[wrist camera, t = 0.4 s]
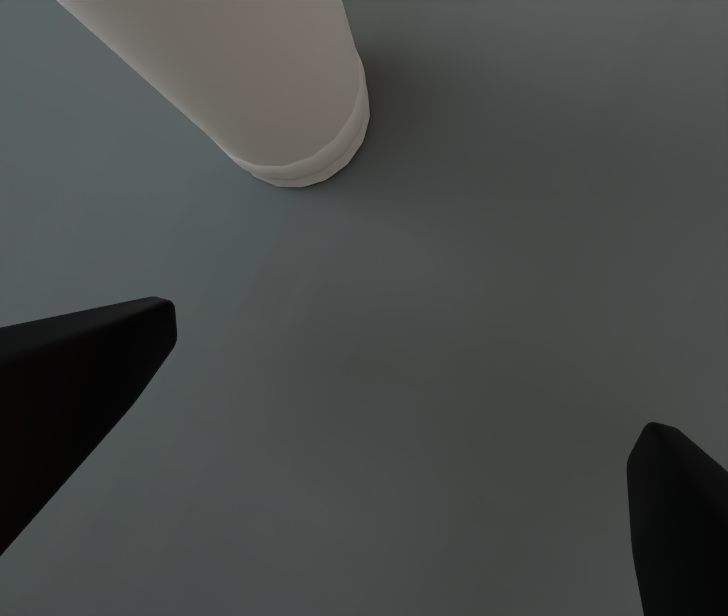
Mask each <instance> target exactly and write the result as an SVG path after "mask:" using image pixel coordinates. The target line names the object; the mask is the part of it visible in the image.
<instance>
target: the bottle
mask: <svg viewBox="0 0 728 616" xmlns="http://www.w3.org/2000/svg"><path fill="white" fill-rule="evenodd" d="M57 1H58V2H59V3H60V4H61V5H62V6H63V7H64V8H66V9H67V10H68V11H69V12H70V13H71V14H72V15H73V16H75V17H76V18H77V19H78V20H79V21H80V22H81V23H82V24H84V25H85V26H86V27H87V28H88V29H89V30H90V31H91V32H93V33H94V34H95V35H96V36H97V37H98V38H99V39H100V40H102V41H103V42H104V43H105V44H106V45H107V46H108V47H109V48H111V49H112V50H113V51H114V52H115V53H116V54H117V55H118V56H120V57H121V58H122V59H123V60H124V61H125V62H126V63H127V64H129V65H130V66H131V67H132V68H133V69H134V70H135V71H136V72H138V73H139V74H140V75H141V76H142V77H143V78H144V79H145V80H147V81H148V82H149V83H150V84H151V85H152V86H153V87H154V88H155V89H157V90H158V91H159V92H160V93H161V94H162V95H163V96H164V97H166V98H167V99H168V100H169V101H170V102H171V103H172V104H173V105H175V106H176V107H177V108H178V109H179V110H180V111H181V112H182V113H184V114H185V115H186V116H187V117H188V118H189V119H190V120H191V121H193V122H194V123H195V124H196V125H197V126H198V127H199V128H200V129H202V130H203V131H204V132H205V133H206V134H207V135H208V136H209V137H211V139H212V140H213V141H214V142H215V143H216V144H217V145H218V146H219V147H220V148H221V149H222V150H223V151H224V152H225V153H226V154H227V155H228V156H229V157H230V158H231V159H232V160H233V161H234V162H235V163H236V164H238V165H239V166H240V167H241V168H243V169H244V170H247V171H249V172H250V173H251V174H252V175H253V176H254V177H256V178H259V179H261V180H263V181H266V182H268V183H270V184H272V185H275V186H277V187H301V188H302V187H305V186H308V185H312V184H315V183H318V182H321V181H324V180H327V179H328V178H330V177H331V176H332V175H334V174H335V173H336V172H338V171H339V170H340V169H342V168H343V167H344V166H346V165H347V164H348V163H349V162H350V160H351V159H352V157H353V156H354V154H355V153H356V151H357V150H358V148H359V147H360V146H361V144H362V143H363V140H364V137H365V133H366V129H367V125H368V122H369V118H370V112H369V100H368V90H367V87H366V79H365V72H364V68H363V64H362V62H361V59H360V57H359V55H358V53H357V51H356V49H355V45H354V42H353V38H352V35H351V31H350V28H349V24H348V21H347V17H346V14H345V10H344V7H343V3H342V0H57Z"/></svg>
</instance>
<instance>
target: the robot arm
mask: <svg viewBox="0 0 728 616" xmlns="http://www.w3.org/2000/svg"><path fill="white" fill-rule="evenodd" d="M176 341H177V327H176V314H175V306H174V304H173V303H172V302H171V301H170V300H166V299H162V298H158V297H147V298H142V299H137V300H132V301H127V302H123V303H118V304H113V305H108V306H103V307H98V308H94V309H89V310H84V311H79V312H74V313H69V314H65V315H60V316H55V317H50V318H45V319H40V320H35V321H31V322H26V323H21V324H16V325H11V326H6V327H2V328H0V556H1V555H2V554H3V553H4V551H5V550H6V549H7V548H8V547H9V546H10V545H11V543H12V542H13V541H14V540H15V539H16V538H17V537H18V535H19V534H20V533H21V532H22V531H23V530H24V529H25V527H26V526H27V525H28V524H29V523H30V522H31V521H32V519H33V518H34V517H35V516H36V515H37V514H38V513H39V512H40V510H41V509H42V508H43V507H44V506H45V505H46V504H47V502H48V501H49V500H50V499H51V498H52V497H53V496H54V494H55V493H56V492H57V491H58V490H59V489H60V488H61V486H62V485H63V484H64V483H65V482H66V481H67V480H68V478H69V477H70V476H71V475H72V474H73V473H74V472H75V470H76V469H77V468H78V467H79V466H80V465H81V464H82V463H83V461H84V460H85V459H86V458H87V457H88V456H89V455H90V453H91V452H92V451H93V450H94V449H95V448H96V447H97V445H98V444H99V443H100V442H101V441H102V440H103V439H104V437H105V436H106V435H107V434H108V433H109V432H110V431H111V429H112V428H113V427H114V426H115V425H116V424H117V423H118V421H119V420H120V419H121V418H122V417H123V416H124V415H125V414H126V412H127V411H128V410H129V409H130V408H131V406H132V405H133V404H134V403H135V401H136V400H137V399H138V397H139V396H140V395H141V393H142V392H143V390H144V389H145V388H146V386H147V385H148V383H149V382H150V381H151V379H152V378H153V376H154V375H155V373H156V372H157V371H158V369H159V368H160V366H161V365H162V364H163V362H164V361H165V359H166V358H167V357H168V355H169V354H170V352H171V351H172V349H173V348H174V346H175V344H176ZM627 485H628V500H629V514H630V529H631V542H632V552H633V559H634V565H635V570H636V576H637V581H638V586H639V591H640V597H641V602H642V607H643V612H644V616H728V472H727V471H726V470H725V469H724V468H723V467H722V466H720V465H719V464H718V463H717V462H716V461H715V460H713V459H712V458H711V457H710V456H709V455H708V454H706V453H705V452H704V451H703V450H702V449H701V448H699V447H698V446H697V445H696V444H695V443H694V442H692V441H691V440H690V439H689V438H688V437H687V436H685V435H684V434H683V433H682V432H681V431H680V430H678V429H677V428H675V427H672V426H668V425H664V424H660V423H656V422H650V423H648V424H647V425H646V426H645V427H644V428H643V430H642V432H641V434H640V436H639V438H638V440H637V442H636V444H635V446H634V448H633V449H632V451H631V453H630V455H629V458H628V461H627Z"/></svg>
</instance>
